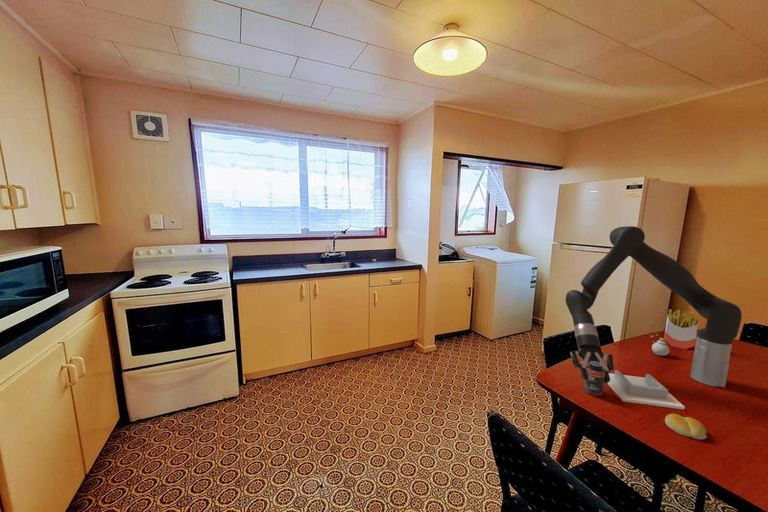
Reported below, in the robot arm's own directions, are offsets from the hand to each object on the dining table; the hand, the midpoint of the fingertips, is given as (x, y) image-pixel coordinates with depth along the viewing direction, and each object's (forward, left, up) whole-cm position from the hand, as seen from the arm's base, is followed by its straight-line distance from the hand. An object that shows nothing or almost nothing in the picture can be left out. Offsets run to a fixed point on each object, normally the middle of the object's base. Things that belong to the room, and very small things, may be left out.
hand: (596, 381), depth 108 cm
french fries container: (-22, -77, -6) cm, 81 cm away
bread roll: (-23, +2, -6) cm, 24 cm away
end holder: (-11, -14, -5) cm, 19 cm away
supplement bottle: (+1, -1, -5) cm, 6 cm away
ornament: (-15, -58, -6) cm, 61 cm away
